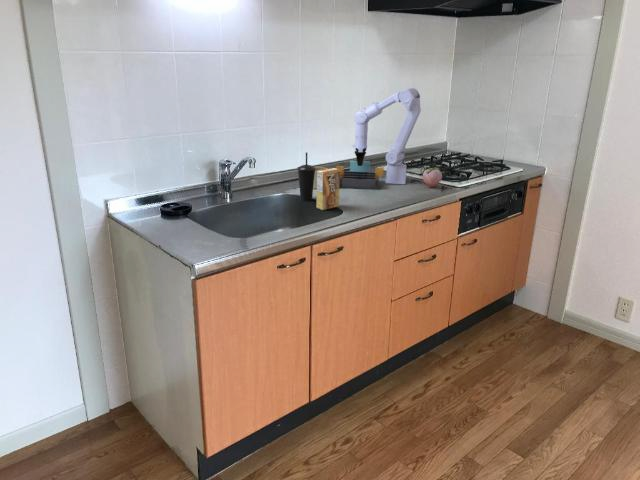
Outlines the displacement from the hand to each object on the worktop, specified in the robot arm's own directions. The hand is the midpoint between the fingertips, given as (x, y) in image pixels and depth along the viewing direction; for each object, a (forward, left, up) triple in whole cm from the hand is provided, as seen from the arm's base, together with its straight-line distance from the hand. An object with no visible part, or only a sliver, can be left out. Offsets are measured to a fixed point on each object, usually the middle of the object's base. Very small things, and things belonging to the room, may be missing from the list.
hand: (360, 164), depth 256 cm
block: (0, 0, -7) cm, 7 cm away
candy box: (+11, +53, -7) cm, 55 cm away
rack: (0, +15, -7) cm, 16 cm away
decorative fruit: (-34, +14, -7) cm, 37 cm away
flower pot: (+18, +23, -7) cm, 30 cm away
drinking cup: (+21, +43, -7) cm, 49 cm away
